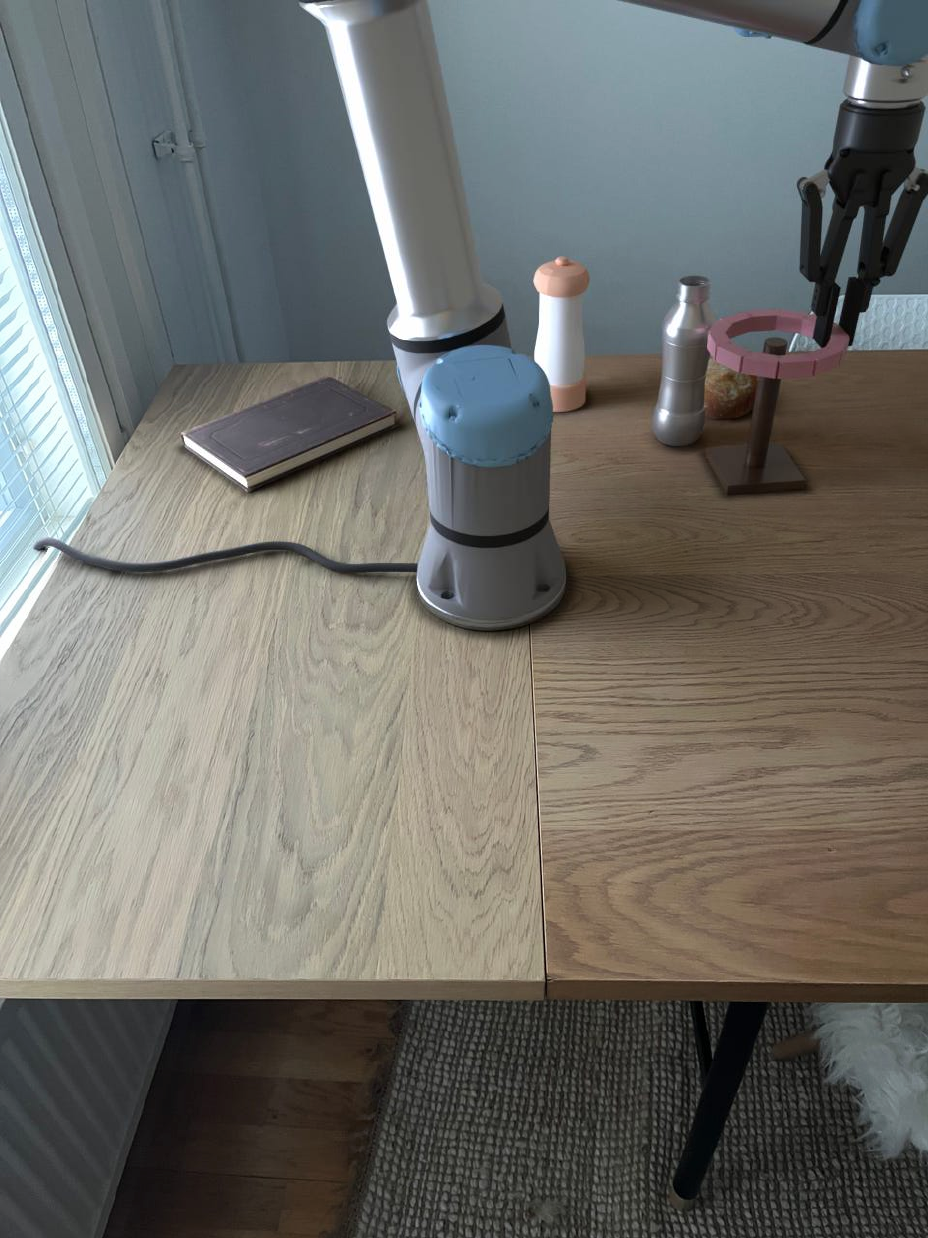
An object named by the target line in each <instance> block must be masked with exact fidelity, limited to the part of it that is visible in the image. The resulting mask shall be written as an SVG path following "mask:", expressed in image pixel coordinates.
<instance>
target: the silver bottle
mask: <svg viewBox="0 0 928 1238" xmlns="http://www.w3.org/2000/svg"><path fill="white" fill-rule="evenodd" d="M675 298H676V299H677V301H676V302H675V303H674V304H673V305H672V307H671V308H670V309H669V311H668V312H667V313H666V315H665V316H664V318H663V321H662V323H661V344H662V345H661V349H662V361H661V365H662V367H661V368H662V370H661V379H660V385H659V389H658V396H657V401H656V403H655V407H654V409H653V413H652V418H651V425H652V432H653V435H654V436H655V438H656V439H657V440H658V441H659V442H661V443H662V444H664V445H668V446H673V447H683V446H689V445H691V444H694V443H695V442H696V441H697V440H699V438H700V437H701V436H702V434H703V431H704V428H705V424H706V417H705V406H704V395H705V379H706V374H707V372H706V371H707V369H708V363H709V358H711V354H710V352H709V350H708V349H707V342H708V333H709V330H710V329H711V328H712V327H713V326H714V324H715V323H716V322H717V321H718V319H717V317H716V315H715V313H714V311H713V309H712V307H711V306H710V304H709V303H708V300H709V299H710V298H711V279H710V278H709V277H707V276H703V275H698V274H693V275H692V274H691V275H684V276H682V277H680V278H679V279H678V281H677V290H676V293H675Z"/></svg>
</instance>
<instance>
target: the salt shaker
mask: <svg viewBox="0 0 928 1238" xmlns="http://www.w3.org/2000/svg"><path fill="white" fill-rule="evenodd" d="M590 281H591V278H590V272H589V271H588V269H587V268H586V267H585V265H584V264H582V263H580V262H578V261H575V260H571V259H569V258H568V257H567V256H563V255H562V256H561V255H560V256H558V257H557V258H556V259H555V260H550V261H548V262H545V263H543V264H541V265H540V266H539V267H538V268H537V269H536V270H535V273H534V277H533V284H534V287H535V289H536V291H537V292H538V293H539V316H538V317H539V319H538V320H539V321H538V322H539V323H538V329H537V335H536V341H535V346H534V361H535V362H536V363H538V364H539V365H540V366H541V368H542V369H543V370H544V372H545V374H546V376H547V378H548V381H549V384H550V390H551V398H552V403H553V413H565V412H570V411H571V412H572V411H574V410H577V409H579V408H581V407H582V406H584V404H585V403H586V395H587V394H586V393H587V392H586V391H587V375H586V373H585V371H584V370H585V357H586V345H585V337H584V328H583V301H584V300H583V299H584V292H586V290H587V289H588V287H589V285H590Z"/></svg>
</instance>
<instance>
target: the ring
mask: <svg viewBox="0 0 928 1238" xmlns="http://www.w3.org/2000/svg"><path fill="white" fill-rule="evenodd" d="M816 318H817V316H816V315H815V314H814V313H810V312H802V311H794V310H787V309H781V308H780V309H776V308H771V309H756V310H755V309H754V310H745V311H740V312H737V313H733V314H730V315H727V316H723V317H722V318H719V319H717V322H716V323H715V324H714V326H713V327H712V328H711V329H710V330H709V333H708V342H707V349H708V350H709V352H710V357H711V358H713V359H714V361H716V362H717V363H719V364H721V365H723V366H726V367H728V368H730V369H732V370H734V371H736V372H742V374H748V375H755V376H756V377H759V376H761V377H767V378H773V379H775V378H776V377H777V378H778V379H781V380H785V379H799V378H812V377H816V376H819V375H822V374H825V373H827V372H830V371H833V370H836V369H838V368H839V367H841V364H842V363H843V361H844V359H845V357H846V355H847V353H848V349H849V348H848V347H849V346H848V344H849V339H850V338H849V336H848V335H847V333H846V332H845V331H844V330H843V329H842V328H841V327H840V325H839V323H837V322H835V321H834V323H833V328H832V332H831V336H830V340H829V342H828V344H827V346H826V347H824V348H821V347H820V348H818V349H816V350H813V351H810V352H807V353H797V354H786V355H772V354H765V353H763V352H758V351H752V350H750V349H747V348H745V347H742V346H740V345H738V344H735V343H733V342H732V341H731V339H733V338H736V337H739V336H742V335H745V334H748V333H755V332H756V333H757V332H771V331H772V332H773V331H776V332H777V331H778V332H784V333H793V334H798V335H799V334H800V335H802V336H804V337H807V338H808V339H809V338H810V339H812V340H814V339H813V333H814V328H815V323H816Z"/></svg>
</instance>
